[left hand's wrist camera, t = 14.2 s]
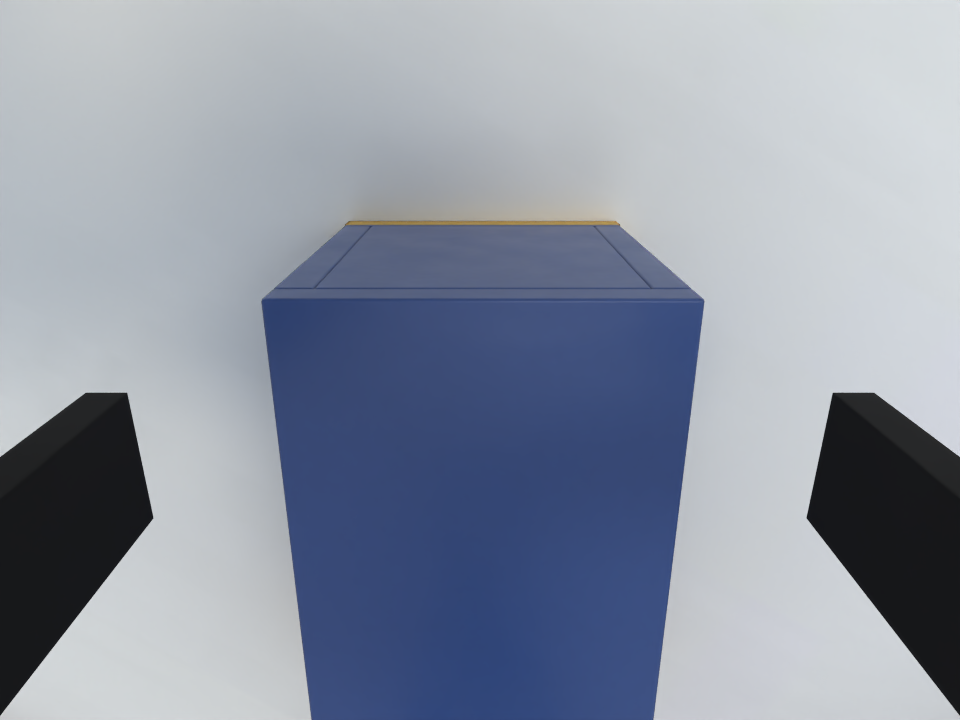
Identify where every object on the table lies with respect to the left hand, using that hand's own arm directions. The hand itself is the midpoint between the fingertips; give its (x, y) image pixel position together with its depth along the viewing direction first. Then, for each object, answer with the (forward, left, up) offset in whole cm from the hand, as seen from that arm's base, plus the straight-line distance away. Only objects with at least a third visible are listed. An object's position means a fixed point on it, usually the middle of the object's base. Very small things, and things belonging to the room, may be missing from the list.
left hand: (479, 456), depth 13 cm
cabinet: (0, -8, -17) cm, 18 cm away
